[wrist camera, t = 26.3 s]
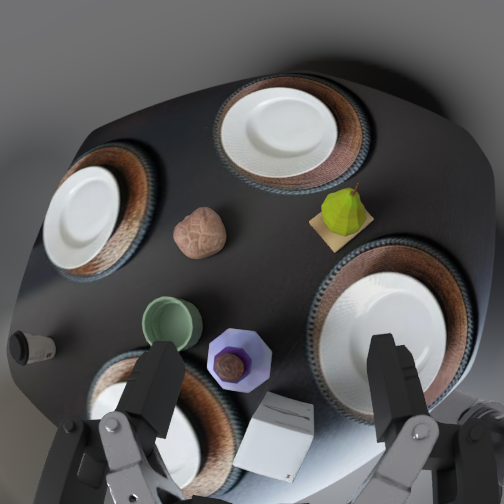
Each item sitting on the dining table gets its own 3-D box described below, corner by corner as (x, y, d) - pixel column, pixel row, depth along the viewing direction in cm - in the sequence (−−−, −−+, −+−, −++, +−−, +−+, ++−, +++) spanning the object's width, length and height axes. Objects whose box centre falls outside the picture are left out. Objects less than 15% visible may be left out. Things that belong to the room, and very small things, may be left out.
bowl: (214, 331, 42) (203, 332, 38) (174, 360, 42) (161, 363, 38) (184, 288, 45) (172, 285, 40) (148, 318, 45) (133, 317, 40)
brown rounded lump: (169, 234, 47) (184, 270, 43) (165, 207, 43) (181, 243, 38) (210, 222, 50) (229, 255, 46) (211, 195, 45) (232, 228, 41)
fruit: (312, 226, 42) (314, 192, 31) (333, 193, 43) (340, 152, 31) (349, 249, 40) (364, 222, 29) (368, 215, 41) (388, 179, 29)
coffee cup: (62, 358, 46) (27, 360, 37) (46, 367, 47) (12, 369, 37) (53, 327, 48) (17, 325, 39) (37, 338, 49) (4, 336, 39)
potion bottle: (211, 363, 41) (178, 378, 30) (237, 315, 42) (212, 313, 31) (261, 392, 39) (244, 418, 27) (289, 342, 40) (283, 352, 28)
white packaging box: (314, 403, 37) (317, 436, 25) (297, 444, 36) (292, 485, 24) (267, 389, 39) (251, 416, 27) (251, 429, 38) (230, 466, 26)
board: (372, 221, 42) (374, 218, 41) (334, 253, 42) (335, 251, 41) (347, 193, 43) (347, 190, 42) (309, 223, 43) (309, 221, 42)
